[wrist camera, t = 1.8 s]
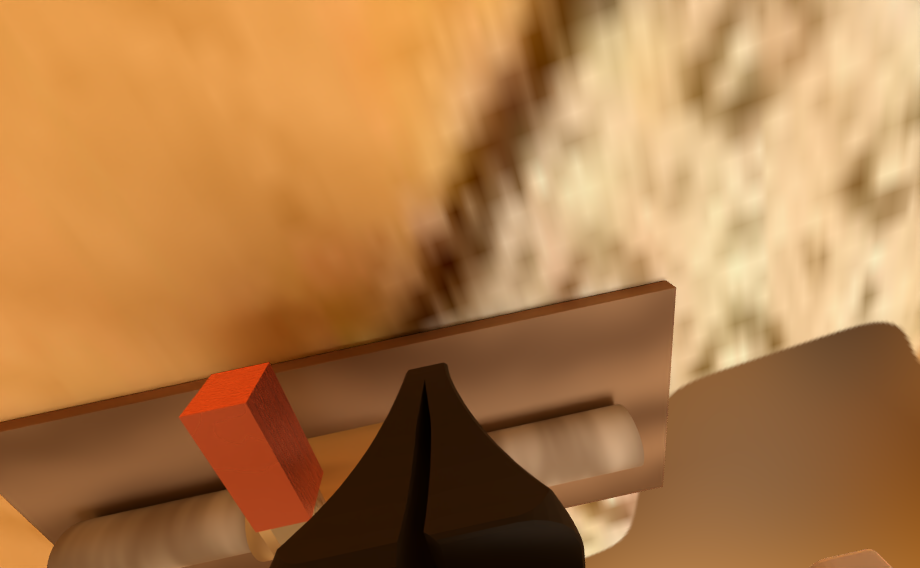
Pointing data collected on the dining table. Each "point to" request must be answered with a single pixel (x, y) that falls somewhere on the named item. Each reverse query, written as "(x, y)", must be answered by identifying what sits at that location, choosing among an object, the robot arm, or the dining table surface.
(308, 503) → the valve lever
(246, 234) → the dining table surface
